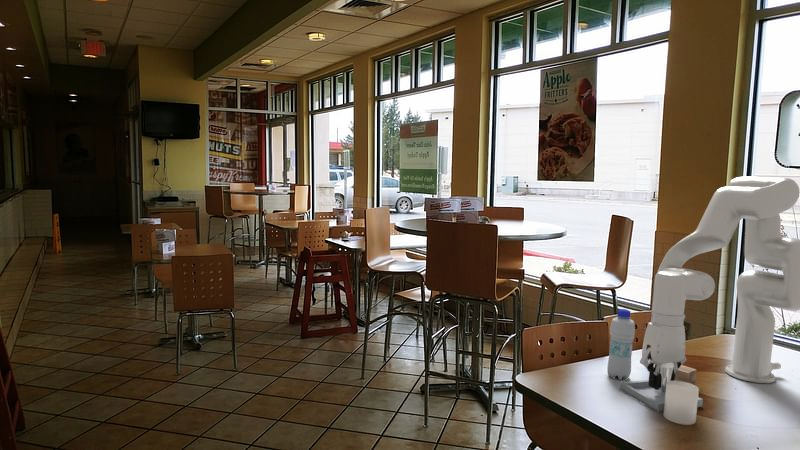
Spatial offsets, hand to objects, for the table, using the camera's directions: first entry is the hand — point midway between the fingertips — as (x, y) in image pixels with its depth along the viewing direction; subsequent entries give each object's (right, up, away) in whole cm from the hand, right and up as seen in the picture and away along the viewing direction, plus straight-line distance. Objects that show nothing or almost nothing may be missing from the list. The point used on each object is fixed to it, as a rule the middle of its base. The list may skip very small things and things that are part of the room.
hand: (661, 386), depth 146 cm
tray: (0, -3, 0) cm, 3 cm away
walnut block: (+10, -3, +10) cm, 15 cm away
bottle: (-6, -2, +14) cm, 15 cm away
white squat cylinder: (-1, -4, -11) cm, 12 cm away
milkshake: (0, -2, 0) cm, 2 cm away
